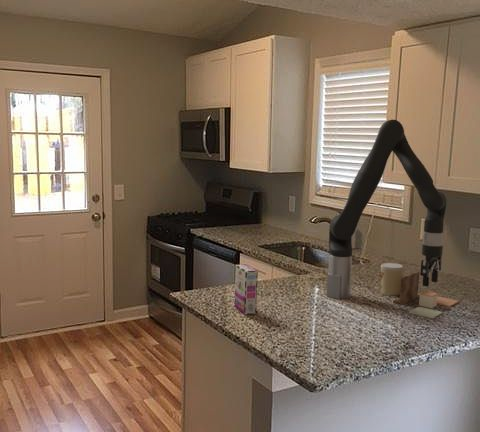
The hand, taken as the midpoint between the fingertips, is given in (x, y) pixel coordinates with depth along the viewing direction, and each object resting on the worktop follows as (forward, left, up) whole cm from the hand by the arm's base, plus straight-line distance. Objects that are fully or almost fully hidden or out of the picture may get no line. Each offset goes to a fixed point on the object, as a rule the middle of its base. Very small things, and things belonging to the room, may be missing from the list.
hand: (430, 283), depth 204 cm
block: (0, 0, -9) cm, 9 cm away
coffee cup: (+5, +19, -9) cm, 21 cm away
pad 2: (+9, -2, -9) cm, 12 cm away
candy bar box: (-57, +46, -9) cm, 74 cm away
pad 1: (-10, -3, -9) cm, 14 cm away
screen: (0, +9, -9) cm, 13 cm away
